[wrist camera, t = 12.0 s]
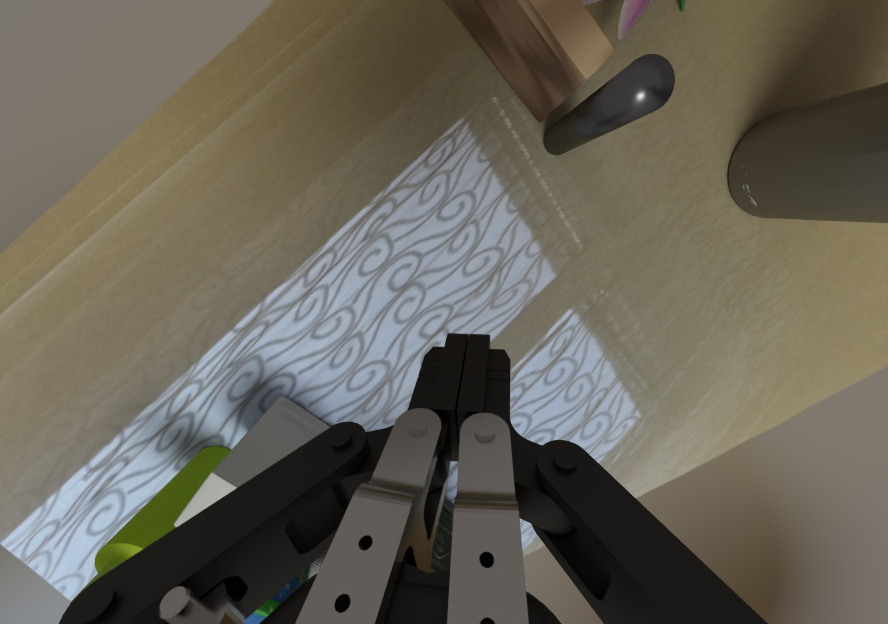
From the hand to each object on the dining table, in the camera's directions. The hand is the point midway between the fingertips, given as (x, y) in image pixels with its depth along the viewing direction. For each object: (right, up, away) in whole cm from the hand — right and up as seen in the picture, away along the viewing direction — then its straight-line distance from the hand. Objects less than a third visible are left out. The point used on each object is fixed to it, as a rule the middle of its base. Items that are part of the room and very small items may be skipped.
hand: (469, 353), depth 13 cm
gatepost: (+9, +17, +20) cm, 28 cm away
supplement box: (-19, -13, +30) cm, 37 cm away
